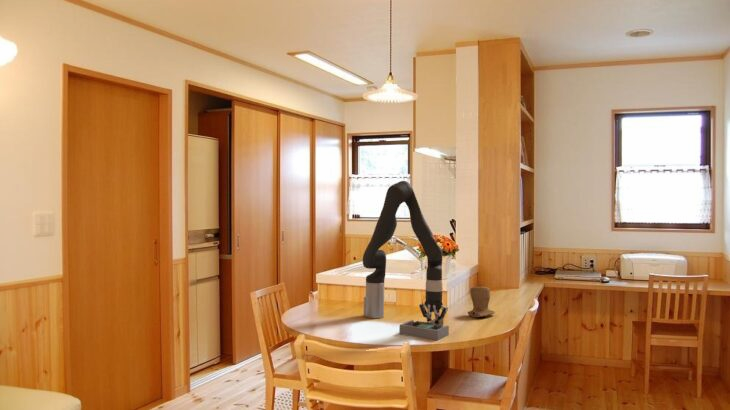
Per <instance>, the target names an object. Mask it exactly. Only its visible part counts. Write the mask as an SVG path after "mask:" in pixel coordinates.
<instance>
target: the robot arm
mask: <svg viewBox="0 0 730 410" xmlns="http://www.w3.org/2000/svg"><path fill="white" fill-rule="evenodd" d="M417 199H418V198H417V197H416V194H415V191H414V189H413V187H412V185H411V184H410V182H409V181H406V180H401V181H398V182H396V183H393V184H391V185H390V186H388V189H387V191H386V193H385V198H384V202H383V206H382V210H381V212H380V214H379V218H378V219H377V222H376V225H375V227H374V231H373V233H372V236H371V238H370V240H369V243H368V245H367V246H366V249H365V250H364V252H363V255H362V265H363V267H364V268H365V269H369V270H370V269H374V271H373V272H372V273H370V274H368V275H366V277H365V296H364V297H363V317H365V318H368V319H382V318H384V316H385V313H384V312H385V278H386V269H387V255H386V252H385V250H384V249H380V248H382V247H383V246H384V245H385V244H387V243H388V242H389V241H390V240H391V239H392V238H393V235H394V234H395V231H396V229H397V224H398V222H397V217H396V216H397V212H398V210H399V208H400V206H401V205H402V204H404V203H405V205H406V207H407V209H408V212H409V216H410V217H409V218H410V225H411V229H412V231H413V233H414V234H415V236H416V239H417V240H418V242H419V243H420V245H421V247H422V249H423V252H424V253H425V256H426V259H427V260H426V261H427V267H426V277H425V278H426V280H425V296H424V297H425V298H424V299H425V301H424V303H420V304H419V308H420V311H421V314H422V316H423V318H426V322H428V321H431V320H433V319H432V315H433V313H434V319H436V320H435V324H439V320H441V319H443V318H444V319H445V316H446V314H447V312H448V309H449V307H448V306H445V305H443V269H442V268H443V266H442V265H443V251H444V250H443V249H442V247H441V246H440V245H438V243H437V241H436V239H435V237H434V234H433V232H432V230H431V229H430V226H429V225H428V222H427V221H426V219H425V217H424V215H423V212H422V209H421V207H420V205H419V202H418V200H417ZM426 309H427V310H426ZM440 310H441V311H440ZM444 319H443V320H444Z"/></svg>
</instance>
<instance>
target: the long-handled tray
mask: <svg viewBox="0 0 730 410" xmlns="http://www.w3.org/2000/svg"><path fill="white" fill-rule="evenodd" d="M444 319H445V317H444V318H443V319H441V320H439V324H435V320H436V319H435V318H433V319H432V320H431V321H428V322H427V321H426V322H425V321H419V320H416V321H414V322H413V326H415V327H417V326H418V325H420V324H429V325H435V330H437V329H440V328H442V327H444Z"/></svg>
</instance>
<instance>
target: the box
mask: <svg viewBox="0 0 730 410" xmlns="http://www.w3.org/2000/svg"><path fill="white" fill-rule="evenodd" d="M413 322H415V321H414V320H413V319H410V320H408V321H405V322H403V323H401V324H399V332H398V334H399V335H405V336H411V337H415V338H422V339H427V340H433V341H439V340H441V339H443V338H445V337H447V336H448V335H449V333H450V332H449V330H450V328H449V325H443V327H442V328H440V329H437V330H434V329H427V328H421V327H415V326H413Z"/></svg>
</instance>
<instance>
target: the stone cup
mask: <svg viewBox="0 0 730 410" xmlns="http://www.w3.org/2000/svg"><path fill="white" fill-rule="evenodd" d="M469 291H470V293H469V294H470V299H471V301H472V307H473V309H472V310H470V311H467V314H468V315H469V316H470V317H472V318H482V317H487V316H490V315H494V314H495V313H496V311H494V310H491V309H489V303H490V299H491V291H490V287H488V286H471V287H470V290H469Z"/></svg>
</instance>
